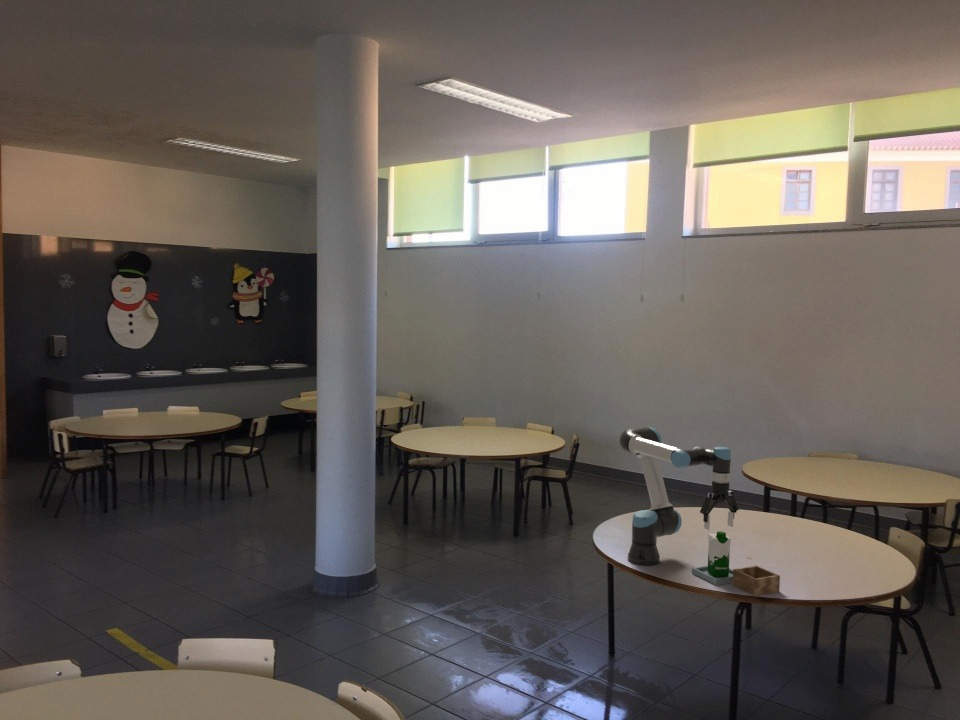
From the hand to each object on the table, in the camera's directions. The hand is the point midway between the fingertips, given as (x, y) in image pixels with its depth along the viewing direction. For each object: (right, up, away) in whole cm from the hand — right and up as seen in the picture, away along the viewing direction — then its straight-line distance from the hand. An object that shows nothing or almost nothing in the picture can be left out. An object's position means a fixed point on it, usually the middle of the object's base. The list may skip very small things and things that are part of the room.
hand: (718, 527), depth 326 cm
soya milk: (0, -22, +1) cm, 22 cm away
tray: (0, -23, +1) cm, 23 cm away
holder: (+12, -24, -12) cm, 29 cm away
